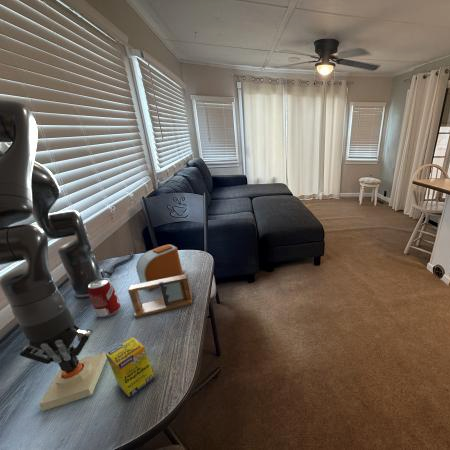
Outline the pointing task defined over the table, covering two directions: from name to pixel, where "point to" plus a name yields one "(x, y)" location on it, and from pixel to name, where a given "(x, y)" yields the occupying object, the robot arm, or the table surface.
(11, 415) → the table surface
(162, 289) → the window pane
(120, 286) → the table surface
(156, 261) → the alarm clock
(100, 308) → the soda can
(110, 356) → the supplement box
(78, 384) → the control plate
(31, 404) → the table surface
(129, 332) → the table surface
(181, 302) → the window frame
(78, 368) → the button
